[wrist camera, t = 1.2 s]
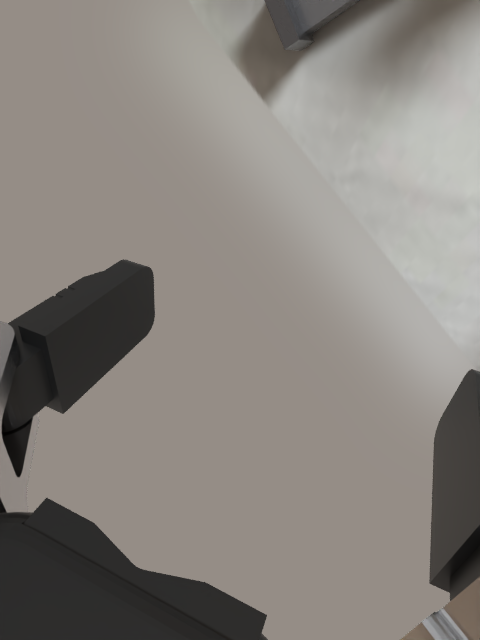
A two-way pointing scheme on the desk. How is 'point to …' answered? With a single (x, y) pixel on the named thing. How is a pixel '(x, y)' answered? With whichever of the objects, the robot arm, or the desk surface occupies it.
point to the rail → (303, 18)
